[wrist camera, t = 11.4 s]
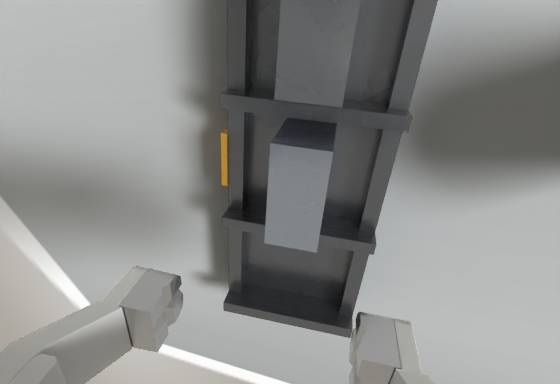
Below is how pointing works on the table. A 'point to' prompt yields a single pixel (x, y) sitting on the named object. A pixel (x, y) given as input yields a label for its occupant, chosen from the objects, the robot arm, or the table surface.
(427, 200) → the table surface
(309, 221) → the grey upright block
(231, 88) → the rack
